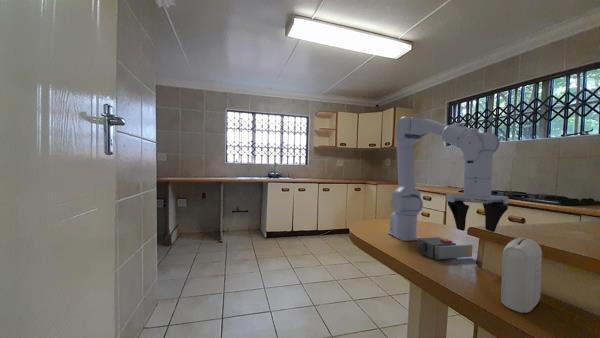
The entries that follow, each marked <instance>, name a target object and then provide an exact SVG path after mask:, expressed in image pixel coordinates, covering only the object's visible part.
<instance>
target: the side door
mask: <svg viewBox="0 0 600 338" xmlns="http://www.w3.org/2000/svg"><path fill="white" fill-rule="evenodd" d="M472 257H473V244H456V245H451V246H437V245H436V246H435V259H434V260H436V261H439V260H444V259H445V260H447V259H457V258H459V259H460V258H472Z"/></svg>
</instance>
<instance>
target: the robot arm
mask: <svg viewBox="0 0 600 338" xmlns="http://www.w3.org/2000/svg"><path fill="white" fill-rule="evenodd" d="M428 133H432V134H435V135H438V136H440V137H441V138H442V140H443V142H445V143H447V144H449V145H452V146H454V147H456V148H458V149H460V150H461V152H462V154H463V160H464V172H463V192H462V193H446V196H445V198H446V199H445V201H446V202H447V206H448V207H449V209H450V211H451V212H452V216H453V219H454V222H455V227H456V229H457V230H459V231H462V232H463V231H465V229H466V218H467V214H468V211H469V209H470V205H468V204H465V203H475V204H476V203H478V204H479V203H480V204H482V206H483V210H484V215H485V216H484V217H485V218H484V219H485V220H484V221H485V222H484V224H485V225H484V226H485V227H484V228H485V230H486V231H488V232H491V233H494V232H495V231H496V229H497V227H498V224H499V222H500V220H501V218H502V216H503V215H504V214H505V212H506V211H508V209H509V205H508V204H509V196H507V195H505V196H504V195H495V194H494V195H493V194H492V184H493V183H492V181H493V161H494V153H496V152H497V150H499V147H500V139H499V137H498V136H497V135H496V134H493V133H492V132H480V130H479V128H475V127H472V128H470V127H467V126H465V124H464V123H462V122H456V123H451V124H449V125H447V124H445V123H442V122H439V121H437V120H435V119H430V118H424V117H423V118H422V117H412V116H411V117H410V116H406V115H405V116H402V117H400V118H399V120H398V122H397V123H396V125H395V137H396V139H395V140H396V158H397V159H396V161H397V162H396V163H397V176H398V177H397V181H398V187H397V188H396V189H395V190H393V191H392V192H391V193H392V194H391V195H392V197H391V201H390V206H391V209H392V210H393V212H391V215H390V218H389V232H388V231H387V234H388V233H389V234H388V235H390V234H391V236H392V235H393V237H395V238H396V239H398V240H400V241H403V242H406V241H407V242H408V241H418V238H420V237H419V236H417V233H418V232H417V229H418V228H417V227H418V215H419V214H420V212H421V211H422V210H423V207H424V202H423V199H422V197H421V192H420V191H419V190H418V189H417V187H415V170H414V154H413V153H414V152H413V150H414V148H413V145H414V144H415V143H418V141H420V140H421V139H422V138H423V137H425V136H426V135H427V134H428Z"/></svg>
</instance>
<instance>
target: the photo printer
mask: <svg viewBox="0 0 600 338" xmlns="http://www.w3.org/2000/svg"><path fill="white" fill-rule="evenodd" d="M542 261H543V251H542V248H541V246H540V244H538V242H536V241H535V240H533V239H531V238H525V237H518V238H517V237H516V238H514V239H513V240H510V241H509V242H508V243H507V244H506V246H505V247H504V248H503V251H502V269H501V287H500V288H501V289H500V294H501V295H500V299H501V300H500V302H501V304H503V305H504V307H506V308H508V309H510V310H513V311H514V312H517V313H521V314H523V313H526V314H527V313H530V312H531V311H532V310H533V309H534V308H535V307H536V306H537V304H538V303H539V302H540V300H541V289H542V287H541V285H542V284H541V283H542Z"/></svg>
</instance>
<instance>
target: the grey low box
mask: <svg viewBox="0 0 600 338" xmlns="http://www.w3.org/2000/svg"><path fill="white" fill-rule="evenodd" d="M416 245H417V246H416V247H417V249H416V251H417V252H418V253H420V254H422V255H424V256H425V257H427V258H430V259H432V260H435V246H436V245H437V246H451V245H457V243H455V242H453V240H450V239H447V238H446V239H444V238H442V237H439V236H438V237H437V236H436V237H419V238H418V240H417V244H416Z"/></svg>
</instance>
